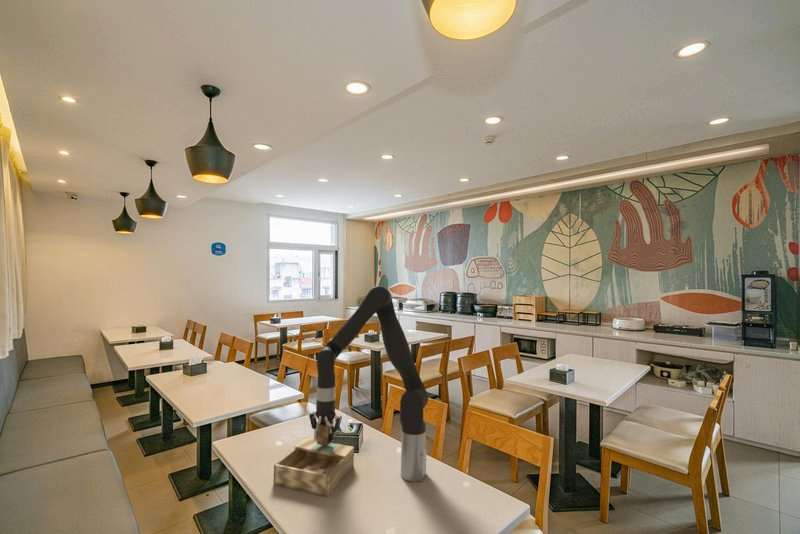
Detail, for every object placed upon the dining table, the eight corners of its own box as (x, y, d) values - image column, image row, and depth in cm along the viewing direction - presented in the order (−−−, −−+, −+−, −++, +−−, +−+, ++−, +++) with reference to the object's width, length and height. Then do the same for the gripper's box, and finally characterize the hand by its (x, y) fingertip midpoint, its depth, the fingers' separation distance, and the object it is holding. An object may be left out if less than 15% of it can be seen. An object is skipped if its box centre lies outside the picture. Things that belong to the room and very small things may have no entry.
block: (332, 441, 144) (333, 422, 145) (327, 446, 140) (327, 426, 140) (322, 439, 146) (323, 420, 146) (316, 444, 142) (317, 425, 142)
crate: (353, 466, 143) (354, 446, 143) (327, 497, 123) (328, 473, 123) (305, 457, 150) (306, 437, 150) (273, 484, 130) (274, 462, 130)
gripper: (346, 396, 145) (345, 439, 144) (315, 392, 149) (314, 434, 149) (337, 402, 138) (336, 447, 137) (305, 398, 142) (304, 442, 142)
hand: (324, 440), depth 143 cm, fingers closed on block, 4 cm apart
